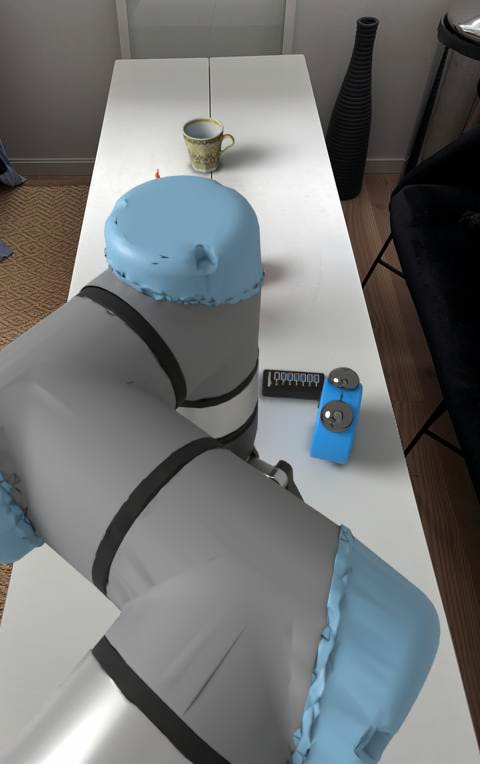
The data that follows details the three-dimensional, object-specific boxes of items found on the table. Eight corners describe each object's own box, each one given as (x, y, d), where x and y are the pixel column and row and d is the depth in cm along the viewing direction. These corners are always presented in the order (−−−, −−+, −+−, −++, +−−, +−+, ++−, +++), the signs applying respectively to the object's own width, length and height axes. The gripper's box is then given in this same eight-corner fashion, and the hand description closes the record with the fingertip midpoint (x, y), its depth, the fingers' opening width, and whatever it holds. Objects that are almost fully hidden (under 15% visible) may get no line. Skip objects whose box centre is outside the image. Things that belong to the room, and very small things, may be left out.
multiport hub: (323, 400, 97) (324, 393, 95) (261, 396, 98) (261, 388, 96) (323, 380, 100) (324, 372, 98) (263, 376, 100) (263, 368, 99)
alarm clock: (342, 479, 88) (357, 432, 76) (304, 470, 89) (313, 422, 77) (353, 412, 95) (369, 360, 83) (318, 405, 96) (328, 352, 84)
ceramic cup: (179, 173, 138) (175, 135, 130) (194, 151, 143) (191, 114, 135) (228, 182, 135) (227, 144, 127) (241, 160, 141) (240, 122, 133)
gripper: (394, 446, 35) (346, 554, 52) (107, 292, 44) (147, 428, 61) (337, 541, 32) (306, 623, 49) (37, 352, 40) (100, 479, 57)
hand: (218, 515), depth 55 cm, fingers open, 13 cm apart
